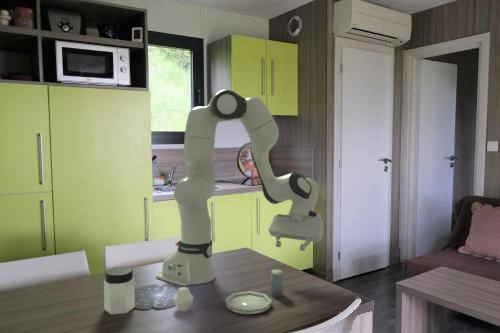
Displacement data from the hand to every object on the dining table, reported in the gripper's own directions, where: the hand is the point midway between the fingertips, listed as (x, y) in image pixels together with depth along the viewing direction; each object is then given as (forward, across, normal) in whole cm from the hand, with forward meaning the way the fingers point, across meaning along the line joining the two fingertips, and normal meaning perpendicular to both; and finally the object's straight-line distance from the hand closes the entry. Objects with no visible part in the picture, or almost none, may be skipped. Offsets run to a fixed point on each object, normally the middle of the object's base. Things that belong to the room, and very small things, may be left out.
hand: (289, 248), depth 143 cm
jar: (+41, -38, -22) cm, 60 cm away
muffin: (+34, -20, -16) cm, 43 cm away
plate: (+26, -4, -7) cm, 27 cm away
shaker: (+17, 0, +2) cm, 17 cm away
